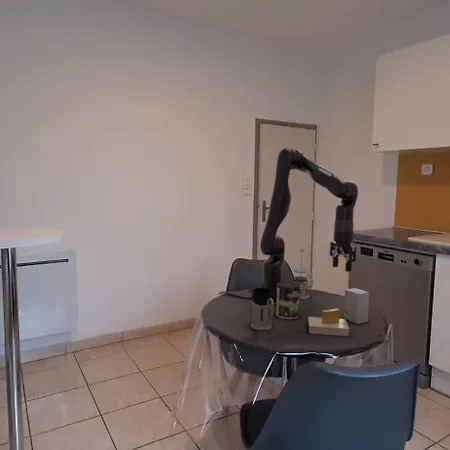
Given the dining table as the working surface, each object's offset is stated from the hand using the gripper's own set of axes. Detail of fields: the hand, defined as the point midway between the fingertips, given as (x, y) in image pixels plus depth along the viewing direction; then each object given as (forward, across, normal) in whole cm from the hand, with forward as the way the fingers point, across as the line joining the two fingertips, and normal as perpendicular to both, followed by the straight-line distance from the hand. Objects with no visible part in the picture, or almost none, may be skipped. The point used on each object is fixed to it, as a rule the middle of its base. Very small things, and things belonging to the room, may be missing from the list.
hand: (341, 269), depth 157 cm
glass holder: (+24, -4, -32) cm, 40 cm away
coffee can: (+24, -16, -16) cm, 32 cm away
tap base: (+23, +4, -8) cm, 25 cm away
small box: (+24, -2, +10) cm, 25 cm away
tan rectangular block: (+20, +5, -8) cm, 22 cm away
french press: (+24, -40, +6) cm, 47 cm away
